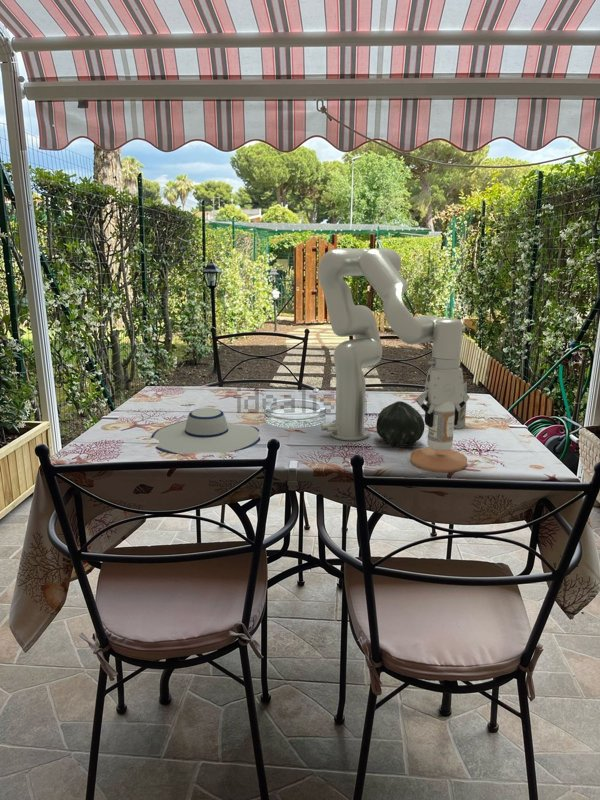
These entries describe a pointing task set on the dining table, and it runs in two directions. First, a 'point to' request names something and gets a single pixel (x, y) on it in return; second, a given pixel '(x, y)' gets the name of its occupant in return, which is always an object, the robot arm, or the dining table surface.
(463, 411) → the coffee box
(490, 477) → the dining table surface
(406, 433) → the squash
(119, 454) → the dining table surface
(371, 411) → the dining table surface
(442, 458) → the terracotta dish
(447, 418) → the bath foam
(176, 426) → the sun hat
